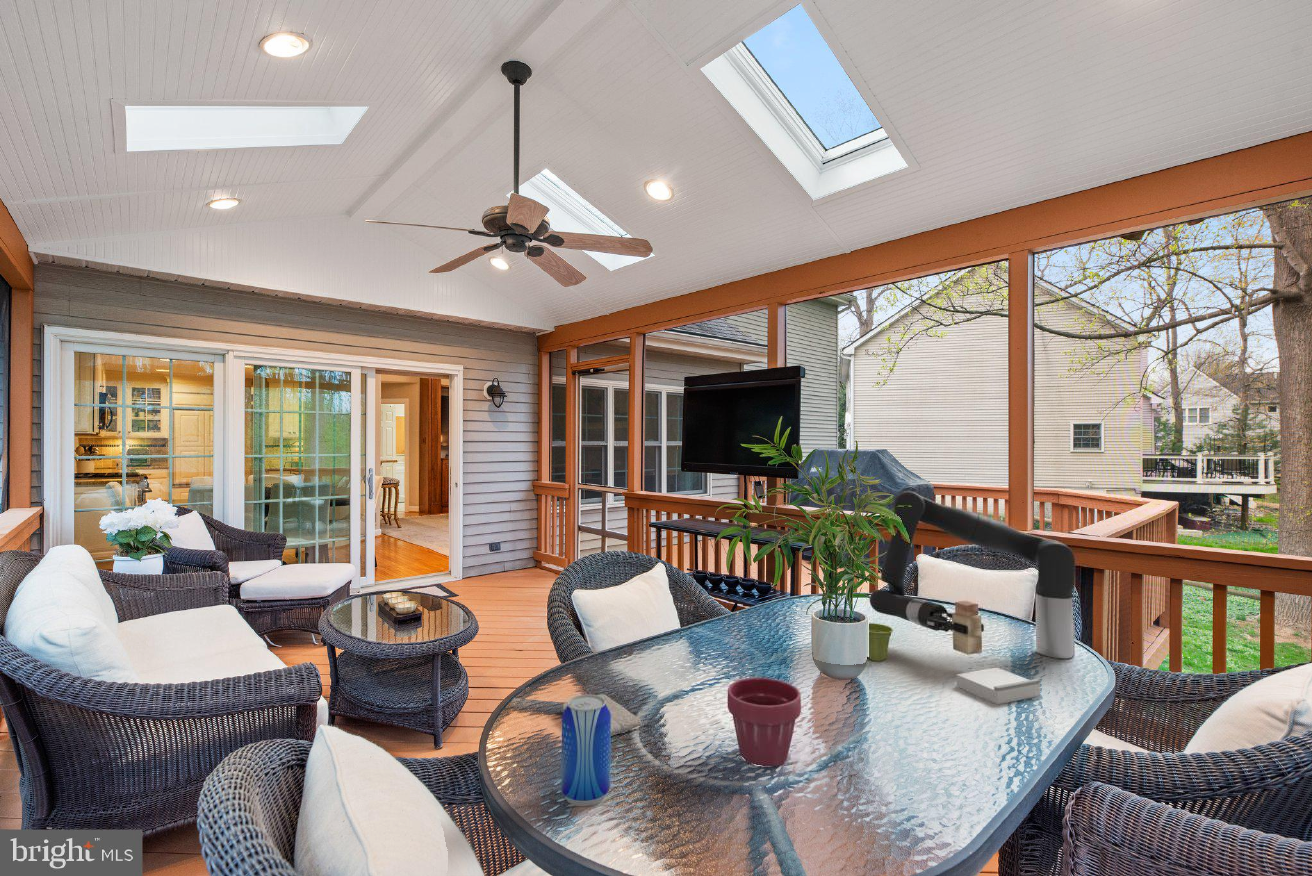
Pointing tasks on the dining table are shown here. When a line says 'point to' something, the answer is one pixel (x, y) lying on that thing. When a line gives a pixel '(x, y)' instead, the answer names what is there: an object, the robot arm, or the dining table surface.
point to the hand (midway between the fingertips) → (975, 629)
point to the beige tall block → (969, 617)
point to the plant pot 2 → (878, 641)
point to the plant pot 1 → (764, 718)
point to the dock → (998, 685)
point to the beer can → (585, 750)
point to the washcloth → (618, 716)
